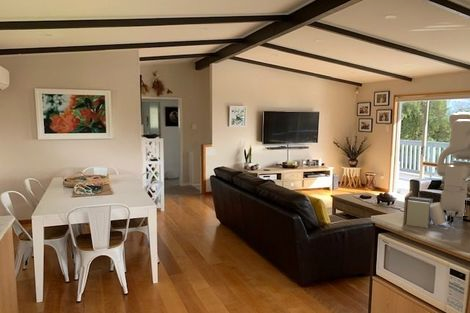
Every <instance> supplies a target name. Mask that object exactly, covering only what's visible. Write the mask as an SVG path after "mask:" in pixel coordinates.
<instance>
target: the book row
mask: <svg viewBox="0 0 470 313" xmlns="http://www.w3.org/2000/svg"><path fill="white" fill-rule="evenodd" d="M413 197H414V196H412V197H409V200H408V205H407V221H406V224H405V225H406V226H414V227H418V226H419V227H418V228H424V227H425V228H426V229H428V228H429V226H430V220H429V215H430V200H429V199H430V198H427V199H421V198H422V197H418V198H413Z"/></svg>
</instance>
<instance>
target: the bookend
mask: <svg viewBox="0 0 470 313" xmlns="http://www.w3.org/2000/svg"><path fill="white" fill-rule="evenodd" d="M412 197H413V198H419V197H416V196H412ZM420 198H421V199H429V200H430V204H432V203H434V202H433V198H426V197H420ZM430 221H431V222H432V220H431V219H430V217H429V222H430Z"/></svg>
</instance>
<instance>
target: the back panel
mask: <svg viewBox="0 0 470 313" xmlns="http://www.w3.org/2000/svg"><path fill="white" fill-rule="evenodd" d="M409 197H413V191H412V190H410V191H409V192H408V193H407V194H406V195H405V196H404V203H403V204H404V206H403V221H402V222H403V224H402V225H406V221H407V205H408V200H409Z"/></svg>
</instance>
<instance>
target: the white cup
mask: <svg viewBox="0 0 470 313" xmlns="http://www.w3.org/2000/svg"><path fill="white" fill-rule="evenodd" d="M429 217H430V219H431V222H432V224H433V225H443V224H445V223H447V216H446V214H445V213H444V211H443V209H441V206H440V201H439V202H432V204H430V215H429Z"/></svg>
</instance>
